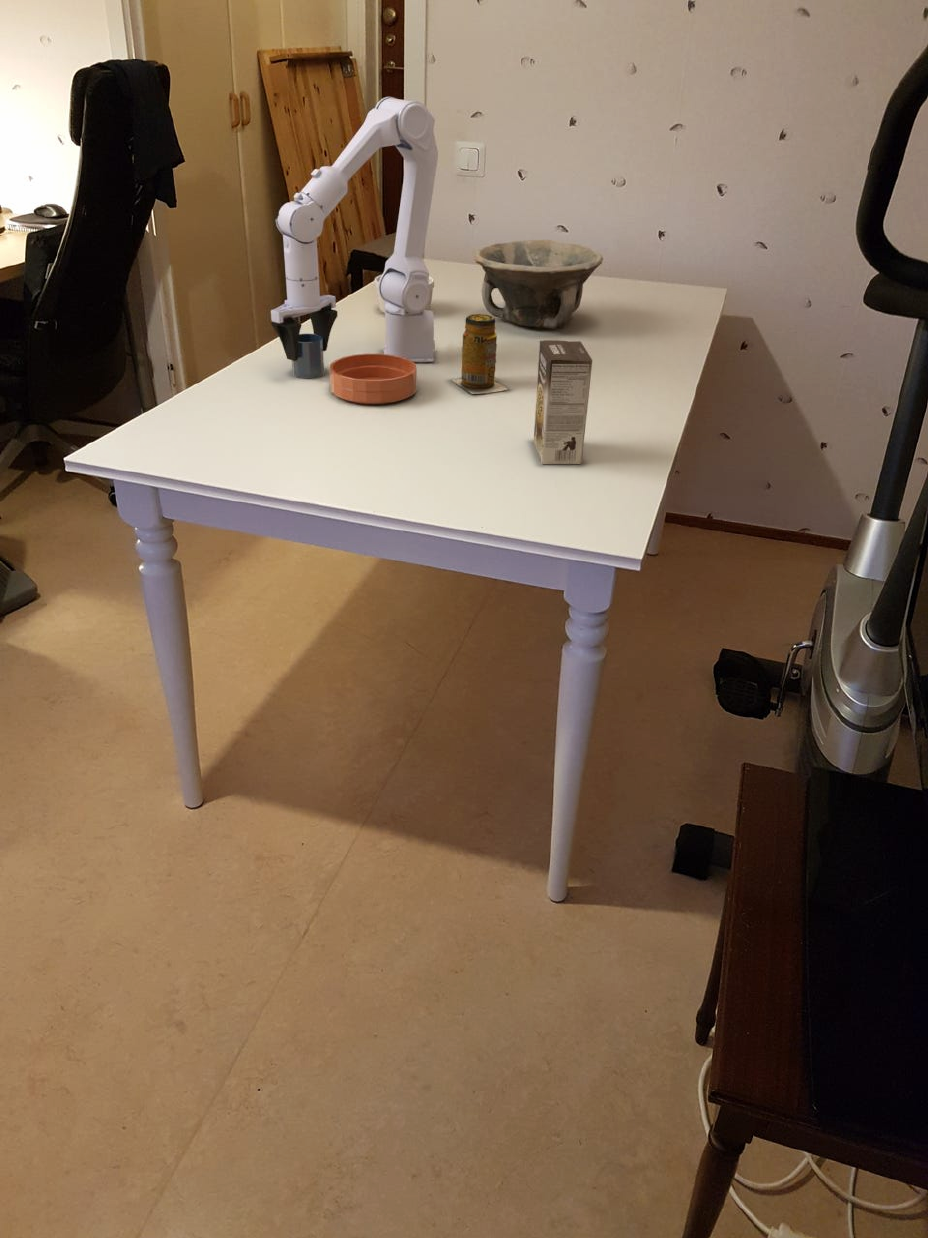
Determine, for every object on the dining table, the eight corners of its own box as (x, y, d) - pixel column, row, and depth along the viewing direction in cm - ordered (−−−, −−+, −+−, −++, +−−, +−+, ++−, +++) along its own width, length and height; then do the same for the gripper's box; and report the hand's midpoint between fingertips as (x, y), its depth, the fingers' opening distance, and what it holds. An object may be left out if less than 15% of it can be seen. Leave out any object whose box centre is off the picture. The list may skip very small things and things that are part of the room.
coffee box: (531, 441, 149) (538, 339, 140) (571, 441, 149) (581, 339, 140) (540, 465, 141) (548, 358, 132) (582, 464, 141) (593, 358, 133)
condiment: (486, 376, 175) (489, 310, 168) (508, 390, 168) (511, 322, 162) (451, 380, 172) (452, 314, 165) (471, 395, 166) (473, 327, 159)
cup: (325, 368, 176) (323, 333, 173) (323, 378, 171) (321, 342, 168) (293, 368, 176) (291, 333, 172) (291, 378, 171) (288, 342, 167)
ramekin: (432, 320, 205) (432, 287, 202) (372, 318, 205) (371, 285, 202) (435, 304, 216) (435, 273, 213) (378, 302, 217) (377, 271, 213)
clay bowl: (414, 377, 173) (414, 353, 170) (418, 406, 160) (418, 380, 158) (332, 377, 172) (331, 353, 169) (329, 406, 159) (328, 380, 157)
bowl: (453, 330, 199) (455, 256, 191) (497, 301, 220) (500, 233, 212) (575, 347, 191) (582, 271, 183) (608, 316, 212) (616, 246, 204)
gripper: (313, 266, 171) (317, 341, 178) (255, 280, 161) (262, 359, 168) (343, 272, 168) (346, 348, 175) (285, 287, 158) (291, 367, 165)
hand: (307, 354), depth 171 cm, fingers open, 7 cm apart
